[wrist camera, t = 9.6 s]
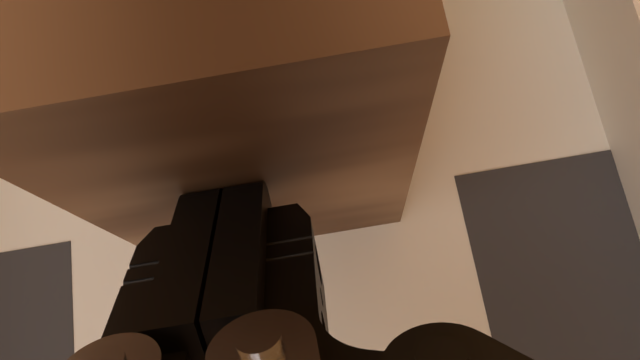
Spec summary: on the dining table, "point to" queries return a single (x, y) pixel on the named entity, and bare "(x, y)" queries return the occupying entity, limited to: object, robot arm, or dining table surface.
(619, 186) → the mat
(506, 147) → the shallow white tray
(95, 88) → the walnut block
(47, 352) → the mat
